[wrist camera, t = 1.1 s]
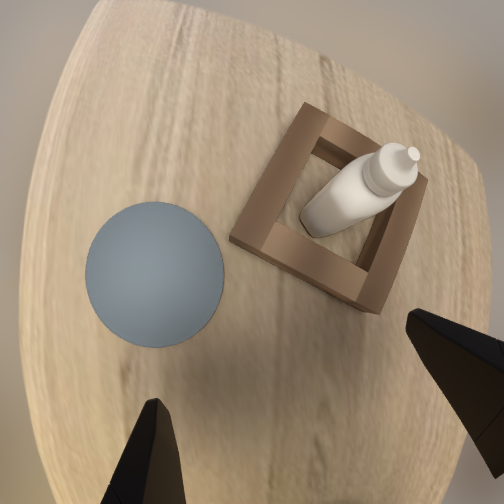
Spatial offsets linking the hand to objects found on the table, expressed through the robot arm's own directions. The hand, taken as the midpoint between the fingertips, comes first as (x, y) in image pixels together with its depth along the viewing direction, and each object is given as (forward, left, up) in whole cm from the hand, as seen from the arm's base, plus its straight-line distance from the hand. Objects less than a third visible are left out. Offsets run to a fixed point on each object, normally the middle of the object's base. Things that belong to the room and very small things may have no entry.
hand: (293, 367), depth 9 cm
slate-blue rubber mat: (+8, +1, -13) cm, 16 cm away
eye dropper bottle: (-2, -10, -14) cm, 17 cm away
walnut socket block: (-2, -10, -13) cm, 17 cm away
